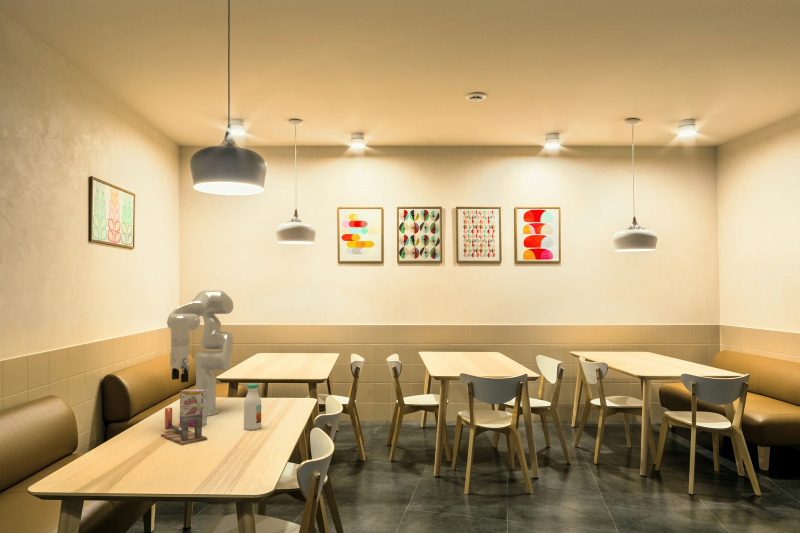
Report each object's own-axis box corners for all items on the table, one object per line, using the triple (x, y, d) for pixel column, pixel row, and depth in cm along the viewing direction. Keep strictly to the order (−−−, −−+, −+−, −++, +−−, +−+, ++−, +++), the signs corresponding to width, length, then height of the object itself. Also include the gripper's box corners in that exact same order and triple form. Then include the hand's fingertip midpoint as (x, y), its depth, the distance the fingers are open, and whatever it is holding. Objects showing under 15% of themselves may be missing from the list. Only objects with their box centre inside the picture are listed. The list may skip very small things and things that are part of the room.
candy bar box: (179, 426, 257) (179, 390, 258) (184, 424, 262) (184, 389, 263) (202, 427, 256) (202, 391, 257) (207, 424, 261) (207, 389, 262)
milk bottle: (250, 431, 248) (251, 386, 249) (240, 428, 253) (240, 384, 253) (264, 427, 254) (265, 383, 255) (254, 425, 259) (254, 382, 260)
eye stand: (160, 436, 240) (161, 411, 240) (185, 431, 248) (185, 407, 248) (181, 445, 226) (182, 418, 227) (207, 439, 234) (207, 413, 235)
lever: (163, 428, 247) (163, 408, 248) (170, 427, 250) (170, 407, 250) (181, 435, 235) (181, 414, 236) (188, 434, 238) (188, 413, 238)
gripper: (163, 341, 255) (164, 379, 255) (179, 345, 243) (179, 384, 243) (180, 340, 260) (180, 377, 260) (196, 343, 248) (196, 382, 248)
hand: (180, 380), depth 251 cm, fingers open, 9 cm apart
